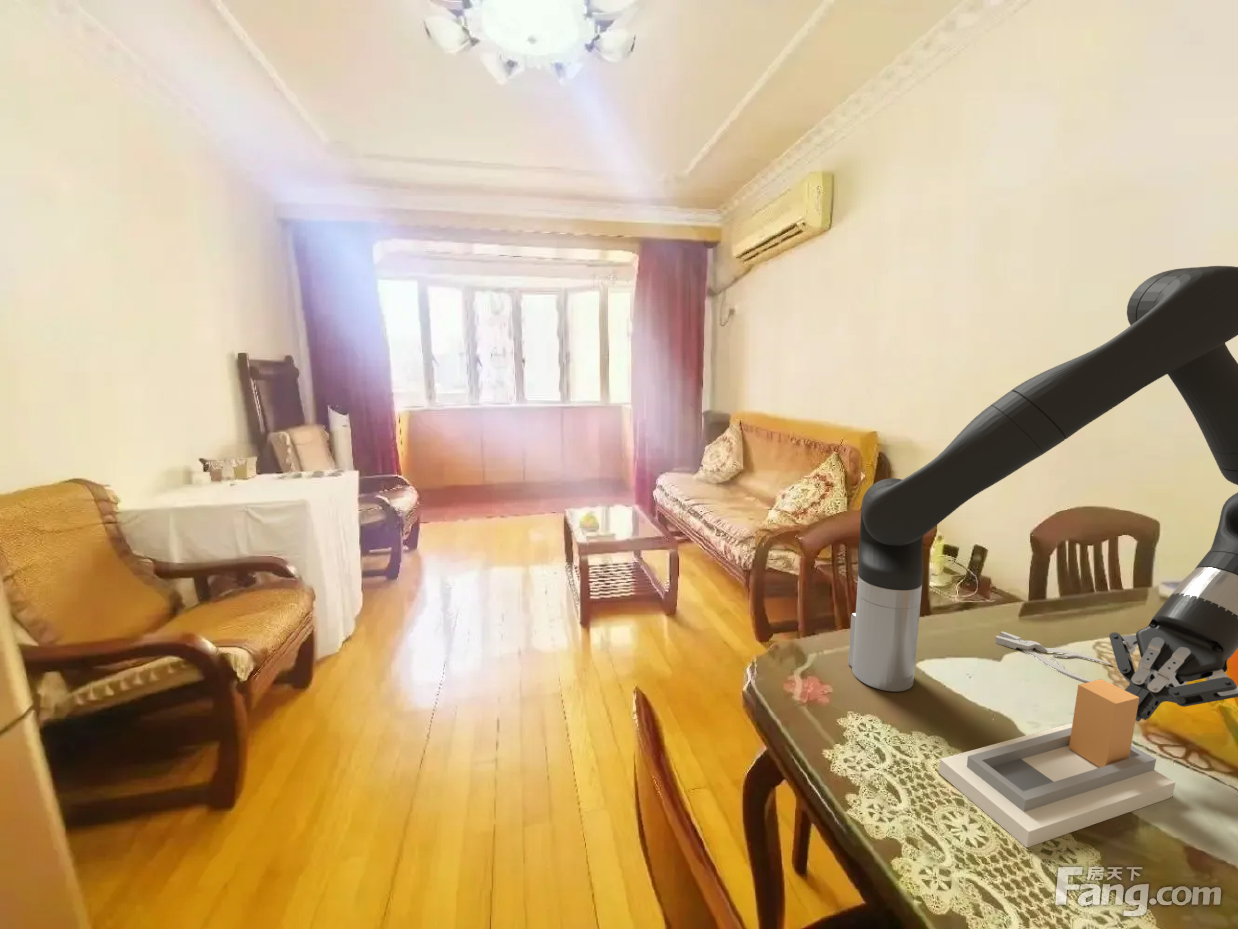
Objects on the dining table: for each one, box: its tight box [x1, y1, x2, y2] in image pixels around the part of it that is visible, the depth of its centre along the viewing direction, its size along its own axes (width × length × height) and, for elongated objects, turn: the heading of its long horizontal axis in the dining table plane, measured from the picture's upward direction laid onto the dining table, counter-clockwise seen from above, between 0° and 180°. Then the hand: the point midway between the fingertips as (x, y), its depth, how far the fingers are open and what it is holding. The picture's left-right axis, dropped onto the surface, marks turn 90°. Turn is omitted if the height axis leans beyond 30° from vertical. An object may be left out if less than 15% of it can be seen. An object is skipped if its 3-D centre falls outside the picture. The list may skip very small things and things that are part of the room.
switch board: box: [938, 722, 1176, 848], centre depth 63 cm, size 11×23×4 cm, turn 106°
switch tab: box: [1069, 678, 1139, 767], centre depth 64 cm, size 4×4×9 cm
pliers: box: [995, 631, 1112, 683], centre depth 91 cm, size 10×2×15 cm
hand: (1128, 715), depth 66 cm, fingers closed
